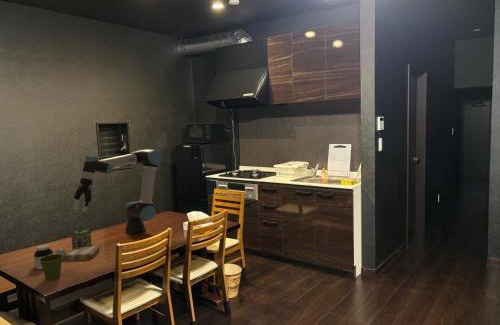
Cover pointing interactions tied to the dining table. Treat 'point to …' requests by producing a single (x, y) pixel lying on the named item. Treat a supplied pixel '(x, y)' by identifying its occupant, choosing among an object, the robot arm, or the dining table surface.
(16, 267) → the dining table surface
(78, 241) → the chalk box
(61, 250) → the grey rounded cylinder
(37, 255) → the spread jar
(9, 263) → the dining table surface
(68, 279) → the dining table surface
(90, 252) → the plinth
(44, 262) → the plant pot
